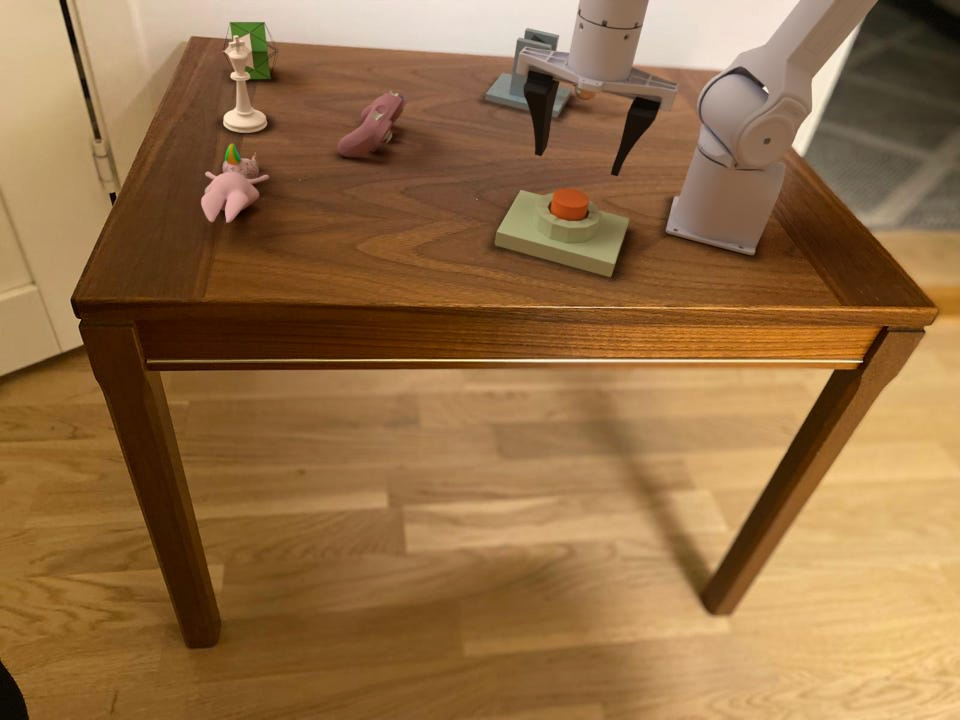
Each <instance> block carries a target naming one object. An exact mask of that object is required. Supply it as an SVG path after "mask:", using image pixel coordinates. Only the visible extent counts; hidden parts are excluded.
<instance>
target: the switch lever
mask: <svg viewBox="0 0 960 720" xmlns="http://www.w3.org/2000/svg"><path fill="white" fill-rule="evenodd" d="M530 40H532V41H536V42H541V43H545V42H543V41H542V40H541V39H539V38H538V37H537V36H535V35H534V36H533V37H532V38H531V39H530ZM545 44H546V43H545ZM573 87H574V94H575V95H576V97H577V98H579V100H582V101H589V100H592V99H593V98H594V97H595V96H596V94H597V93H594V92H590V91H586V90H582V89H579V88H578V86H576V85H573Z"/></svg>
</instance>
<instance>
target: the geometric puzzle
mask: <svg viewBox="0 0 960 720" xmlns="http://www.w3.org/2000/svg"><path fill="white" fill-rule="evenodd" d="M228 26H229V27H228V28H227V33H226V37H225V40H224V45H223V48H222V50H221V52H222V53H223V55H224V56H225V59H226V61H227V63H228V64H229V66H230V69H231V70H232V72H235V70H234V68H233V66H232V64H231V62H230V60H228V57H229V53H230V52H232V51H235V48H230V47H229V45H228V46H227V47H226V48H225V46H226V43H227V37H228V34H229V30H230V33H231V42H234V39H233V36H235V35H237V36H239V41H241V40H243V41H245V46H240V51H243V52H245V53H246V54H247V55H248V57H247V61H246V67H245V70H244V71H245V72H247V73H249V75H250V79H249V80H272V76H273V73H274V69H275V65H276V63H277V62H276V60H277V59H278V55H279V52H280V50H279V49H278V45H276V42H275V40H274V39H273V36H272V34H271V32H270V30H269V28H268V26H267V24H266V21H229V24H228ZM266 30H267V33H268V35H269V37H270V40H271V42H272V45H271V44H270V43H268V42H267V35H266ZM268 47H269V48H270V49H272V50H273V51H272V53H270V54H269V50H268ZM227 56H228V57H227ZM272 57H274V60H273V61H274V62H273V63H272V66H273V67H272V69H271V68H270V61H269V59H271V58H272ZM270 69H271V70H270Z"/></svg>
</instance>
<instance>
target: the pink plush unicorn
mask: <svg viewBox="0 0 960 720" xmlns="http://www.w3.org/2000/svg"><path fill="white" fill-rule="evenodd" d="M256 153H257V152H256V151H255V152H254V155H253V156H252V157H251V159H249V158H242V156H241V155H240V154H239V151H238V150H237V147H236V145H235V144H234V143H230V144H228V147H227V149H226V152H225V155H224V161H223V162H222V163H223V164H222V172H223V173H219V174H218V175H214V174H213V173H212V172H211V171H206V172H205V173H204V174H205V176H206V177H207V178H208V179H210V180H212V181H211V182H210V183H209V185H207V187H205V189H204V195H203V196H202V197H201V199H200V204H201V208H202V211H203V213H204V216H205V217H206V219H207V220H208V222H210V223H214V222H215V221H216V218H217V216H218V215H219V214H220V211H224V216H225V222H226V224H230V223H232V222H233V221H234V219H235V218H236V217H237V216H238V215H239V213H240V212H241V211H243V210H245V209H246V208H248V207H249V206H250V205H251V204H253V203H254V202H255V201H257V200H258V199H259V197H260V192H259V190H258V189H257V188H256V187H255V186H254V185H255V184H259V183H262V182H266V181H268V180H269V179H270V176H269V175H268V174H263V175H261V176H259V173H260V169H259V167H261V165H260V162H259V160H258V157H257V155H256ZM258 176H259V177H258Z"/></svg>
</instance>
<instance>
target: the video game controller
mask: <svg viewBox="0 0 960 720" xmlns="http://www.w3.org/2000/svg"><path fill="white" fill-rule="evenodd" d="M407 102H408V100H407V98H405V97H404V96H403V95H401V94H399V93H398V92H396V93H395V92H393V91H392V90H391V89H390V90H389V91H388V92H385V93H384V94H383V95H379V96H378V97H377V98H375V99H374V100H373V102H372V103H371V104H369V105H367V106H366V107H365V108H364V109H363V110H362V112H361V114H360V120H361V122H362V124H361V125H360V126H359V127H358V128H356V129H354V130H353V131H351V132H349V133H348V134H345V135H344V136H343V137H341V139H340V140H339V141H338V144H337V151H338V153H339V155H341V156H342V157H345V158H357V157H360V156H363V155H365V154H367V153H368V152H370V151H371V152H373V153H375V152H376V150H377V149H378V147H379V146H380V144H381V143H382V142H385V143H386V144H387V143H389V142H390V141H391V139H392V138H393V133H392V130H391V128H392V127H393V125H394V123H395V122H396V121H397V120H398V119H399V118H400V117H401V116H402V114H403V112H404V108H405V106H406V104H407Z"/></svg>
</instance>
